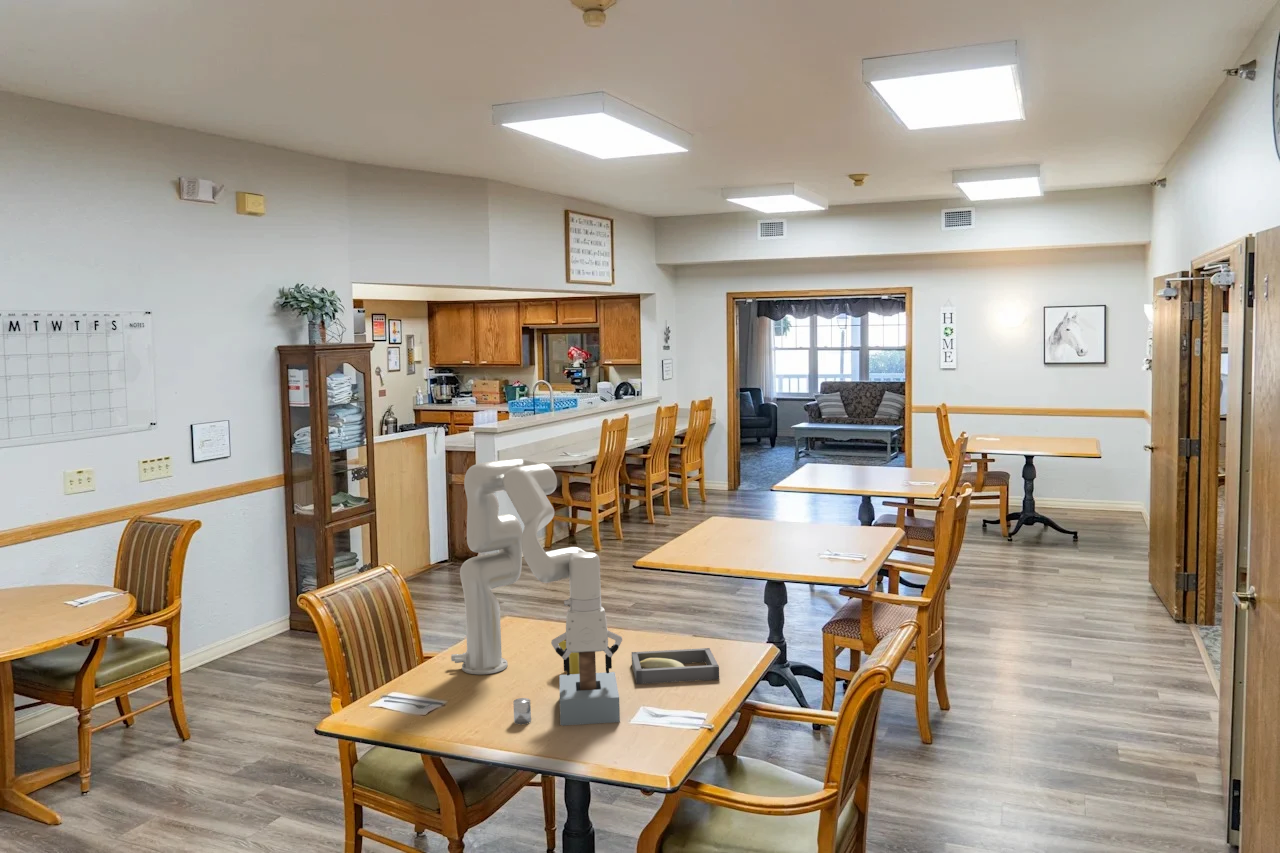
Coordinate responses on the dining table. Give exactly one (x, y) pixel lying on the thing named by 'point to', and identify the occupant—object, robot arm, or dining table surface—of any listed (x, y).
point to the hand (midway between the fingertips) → (587, 672)
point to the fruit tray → (676, 673)
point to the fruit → (659, 663)
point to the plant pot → (571, 659)
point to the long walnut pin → (587, 670)
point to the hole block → (589, 700)
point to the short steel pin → (522, 711)
